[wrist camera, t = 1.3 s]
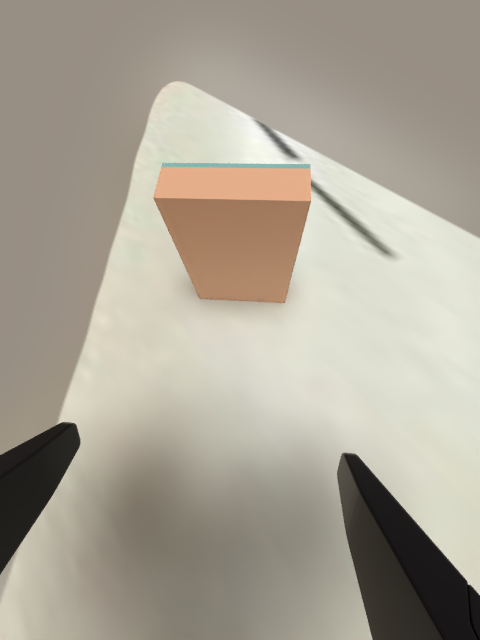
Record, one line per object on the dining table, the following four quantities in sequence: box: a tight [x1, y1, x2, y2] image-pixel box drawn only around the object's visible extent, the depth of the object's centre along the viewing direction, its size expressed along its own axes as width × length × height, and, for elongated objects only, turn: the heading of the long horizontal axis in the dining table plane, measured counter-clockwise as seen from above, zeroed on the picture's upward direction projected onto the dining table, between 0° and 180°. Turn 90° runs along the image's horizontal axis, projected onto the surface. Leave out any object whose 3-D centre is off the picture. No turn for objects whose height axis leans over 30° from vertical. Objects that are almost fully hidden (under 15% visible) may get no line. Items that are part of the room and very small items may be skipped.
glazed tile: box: [153, 163, 311, 303], centre depth 19 cm, size 2×8×12 cm, turn 85°
